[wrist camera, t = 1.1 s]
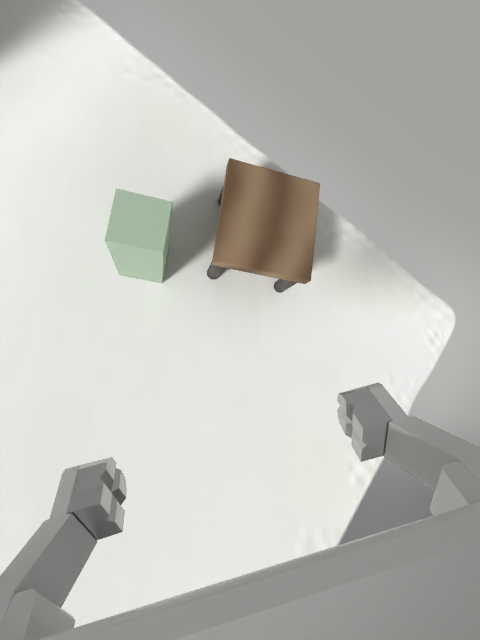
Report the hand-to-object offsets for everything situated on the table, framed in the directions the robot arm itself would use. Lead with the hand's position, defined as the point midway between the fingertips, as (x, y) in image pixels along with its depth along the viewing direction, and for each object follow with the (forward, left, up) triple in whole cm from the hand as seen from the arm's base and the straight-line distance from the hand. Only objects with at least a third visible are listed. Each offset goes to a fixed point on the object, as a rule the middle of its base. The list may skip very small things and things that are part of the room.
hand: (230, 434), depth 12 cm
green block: (-7, +15, -28) cm, 33 cm away
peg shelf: (+6, +20, -28) cm, 35 cm away
